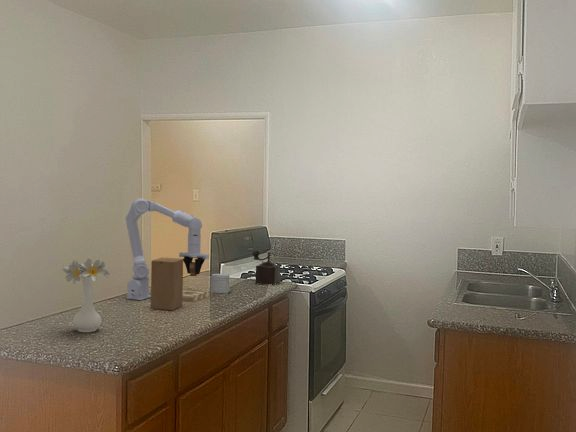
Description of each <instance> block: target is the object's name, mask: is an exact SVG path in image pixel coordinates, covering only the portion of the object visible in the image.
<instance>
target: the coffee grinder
mask: <svg viewBox="0 0 576 432" xmlns="http://www.w3.org/2000/svg"><path fill="white" fill-rule="evenodd" d="M259 255H260V251H259V250H257V249H256V250H253V251H252V256H253V260H256V261H262V262H261V263H259V264H258V265H255V284H256V283H261V284H260V285H264V284H272V285H271V286H274V285H273V284H275V283H278V284H280V283H281V265H280V264H274V262H271V261H270V256H271V252H270V251H268V252H267V255H266V257H263V258H259ZM264 260H267V261H264Z"/></svg>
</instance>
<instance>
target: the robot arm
mask: <svg viewBox="0 0 576 432" xmlns="http://www.w3.org/2000/svg"><path fill="white" fill-rule="evenodd" d="M146 212H158V213H160V214H162V215H164V216H166V217H170V218H171V221H172V222H173V223H175V224H178V225H180V226H183V227H185V228H188V232H187V252H183V251H182V252H179V253H178V257H179V258H182V259H183V264H184V266H185V269H186V271H187V274H189V275H190V272H189V263H190V262H193V260H194V262H195V264H196V274H197V275H200V273H201V269H202V266H203V264H204V263H205V260H209V259H210V254H206V253H201V244H202V242H201V241H202V239H201V238H202V237H201V236H202V235H201V229H202V227H203V223H202V221H201V220H200V219H199V218H197V217H195V216H194V215H193V214H188V213H186V212H185V211H184V210H183V209H180V210H179V209H178V210H172V209H170V208H168V207H166V206H164V205H162V204H159V203H158V202H155V201H152V200H148V199H145V198H142V197H139V198H136V199H135V200H134V201H133V202H131V204H130V206H129V209H128V211H127V214H126V216H125V222H126V228H127V229H126V230H127V233H128V238H129V242H130V243H129V244H130V248H131V253H132V258H133V266H132V269H133V270H132V271H133V273H134V274H133V275H132V278H131V279H130V280H129V281H128V282H127V293H126V294H127V296H126V297H125V299H128V300H137V301H142V300H146V299H151V294H150V276H149V274H150V269H149V267H148V264H146V261H145V256H144V250H143V245H142V242H141V241H142V240H141V237H140V232H139V225H138V220H139V219H140V218H141V216H142V215H144V214H145V213H146Z"/></svg>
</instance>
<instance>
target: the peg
mask: <svg viewBox="0 0 576 432" xmlns="http://www.w3.org/2000/svg"><path fill="white" fill-rule="evenodd" d="M189 272H190V273H189V276H190V277H197V276H198V274H196V264H195V261H192V262H190V263H189Z"/></svg>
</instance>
